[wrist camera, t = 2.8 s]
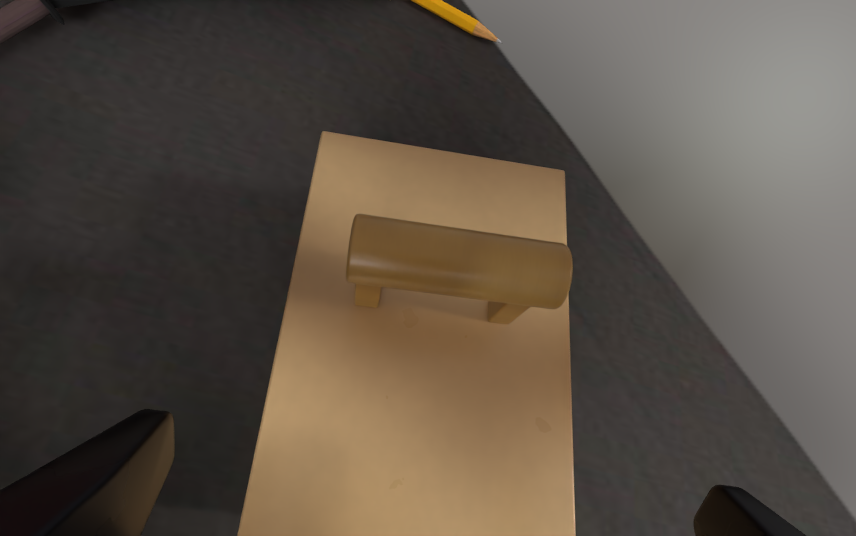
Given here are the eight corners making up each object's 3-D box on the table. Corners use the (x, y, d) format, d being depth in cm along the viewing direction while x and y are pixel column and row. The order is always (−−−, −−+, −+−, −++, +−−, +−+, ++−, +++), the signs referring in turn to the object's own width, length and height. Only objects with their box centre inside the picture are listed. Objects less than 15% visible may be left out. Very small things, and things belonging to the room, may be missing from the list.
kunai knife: (306, -85, 26) (300, -148, 23) (-203, 242, 19) (-314, 214, 16) (254, -132, 27) (241, -200, 23) (-269, 172, 19) (-391, 130, 16)
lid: (323, 143, 16) (311, 24, 12) (556, 181, 17) (630, 84, 13) (240, 549, 12) (168, 611, 7) (565, 570, 13) (686, 639, 8)
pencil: (368, -21, 27) (374, -22, 27) (497, 51, 26) (500, 48, 27) (372, -37, 26) (378, -37, 27) (503, 37, 26) (506, 35, 26)
